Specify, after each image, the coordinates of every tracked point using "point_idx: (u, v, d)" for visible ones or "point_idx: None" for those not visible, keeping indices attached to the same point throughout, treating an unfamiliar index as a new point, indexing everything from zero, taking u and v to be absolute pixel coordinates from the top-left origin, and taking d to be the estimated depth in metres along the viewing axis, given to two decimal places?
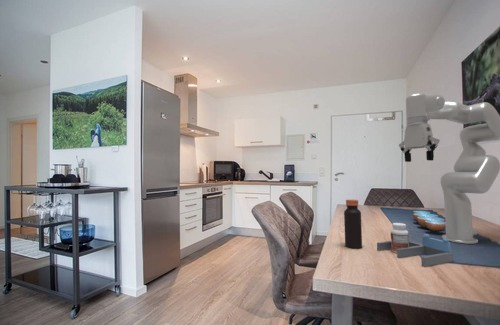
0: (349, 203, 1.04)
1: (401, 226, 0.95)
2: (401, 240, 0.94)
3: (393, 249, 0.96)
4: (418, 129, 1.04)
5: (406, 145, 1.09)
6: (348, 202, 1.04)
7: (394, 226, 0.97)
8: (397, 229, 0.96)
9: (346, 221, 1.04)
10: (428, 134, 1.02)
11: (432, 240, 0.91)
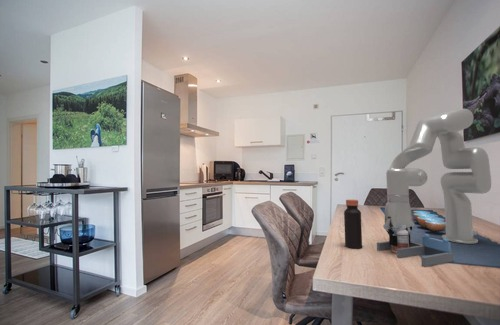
0: (349, 203, 1.04)
1: None
2: (401, 240, 0.94)
3: (393, 249, 0.96)
4: (408, 208, 0.96)
5: (396, 225, 0.94)
6: (348, 202, 1.04)
7: None
8: (397, 229, 0.96)
9: (346, 221, 1.04)
10: None
11: (432, 240, 0.91)
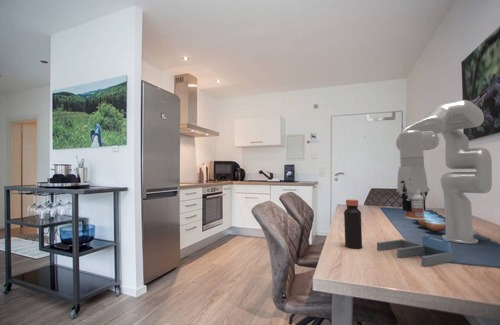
0: (349, 203, 1.04)
1: None
2: (415, 205, 0.89)
3: (407, 215, 0.91)
4: (422, 172, 0.91)
5: (411, 189, 0.89)
6: (348, 202, 1.04)
7: None
8: (411, 194, 0.90)
9: (346, 221, 1.04)
10: None
11: (432, 240, 0.91)
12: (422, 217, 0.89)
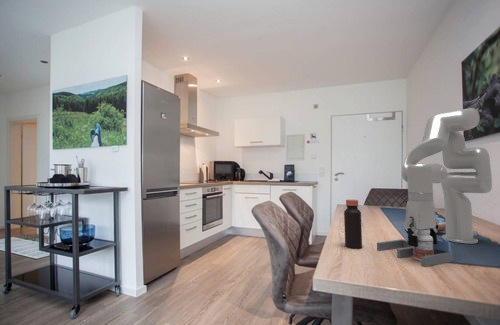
0: (349, 203, 1.04)
1: (425, 231, 0.86)
2: (425, 247, 0.86)
3: (416, 256, 0.88)
4: (431, 208, 0.87)
5: (420, 226, 0.85)
6: (348, 202, 1.04)
7: None
8: (420, 234, 0.87)
9: (346, 221, 1.04)
10: None
11: None
12: None
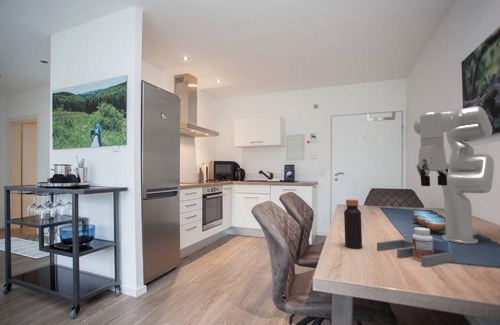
0: (349, 203, 1.04)
1: (425, 231, 0.86)
2: (425, 247, 0.86)
3: (416, 256, 0.88)
4: (442, 151, 0.96)
5: (432, 167, 0.94)
6: (348, 202, 1.04)
7: (417, 231, 0.88)
8: (420, 234, 0.87)
9: (346, 221, 1.04)
10: None
11: None
12: None
